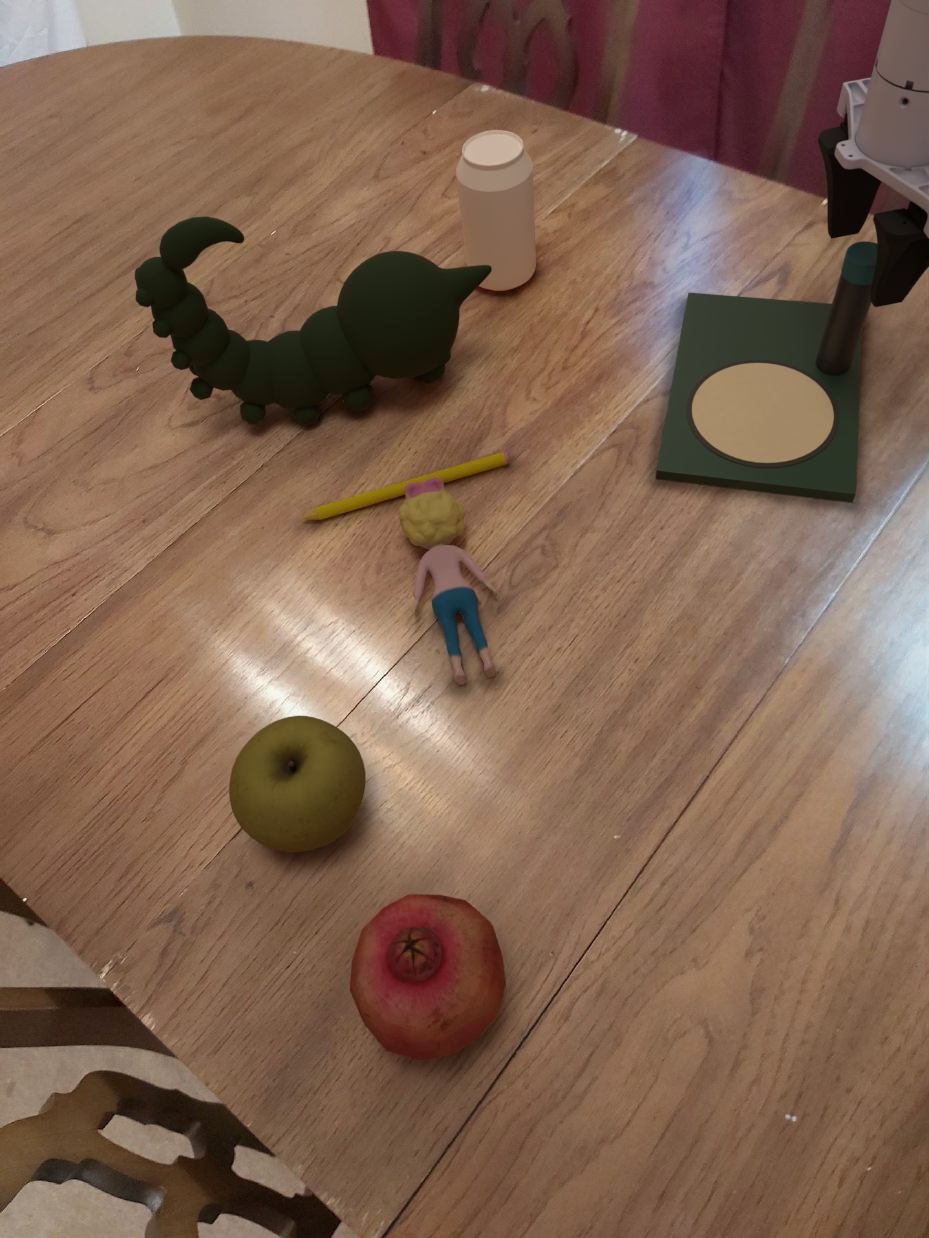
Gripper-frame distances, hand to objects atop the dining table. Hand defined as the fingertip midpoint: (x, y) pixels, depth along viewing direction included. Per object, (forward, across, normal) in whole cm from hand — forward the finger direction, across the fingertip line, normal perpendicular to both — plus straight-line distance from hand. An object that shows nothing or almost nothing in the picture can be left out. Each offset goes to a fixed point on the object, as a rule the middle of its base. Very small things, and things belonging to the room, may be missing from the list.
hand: (864, 266), depth 65 cm
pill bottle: (+9, 0, 0) cm, 9 cm away
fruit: (+10, +40, -38) cm, 56 cm away
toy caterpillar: (+10, -8, -38) cm, 40 cm away
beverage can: (+10, -19, -23) cm, 32 cm away
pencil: (+10, +4, -35) cm, 36 cm away
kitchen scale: (+10, +1, -6) cm, 11 cm away
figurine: (+10, +14, -33) cm, 37 cm away
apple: (+10, +28, -44) cm, 53 cm away
